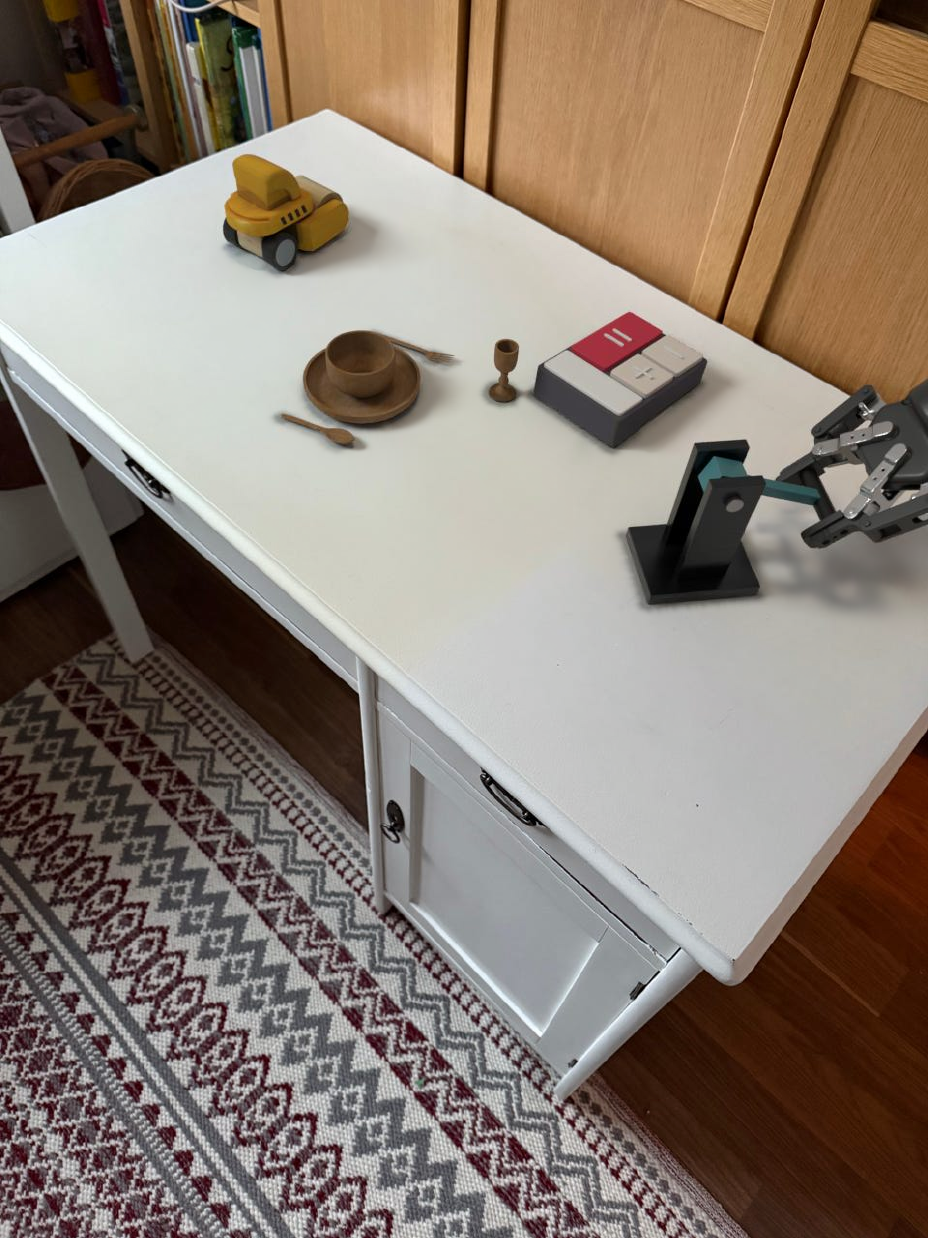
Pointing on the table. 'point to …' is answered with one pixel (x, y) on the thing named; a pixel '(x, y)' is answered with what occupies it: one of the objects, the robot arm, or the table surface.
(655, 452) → the table surface
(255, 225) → the toy roller
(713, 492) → the bracket
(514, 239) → the table surface
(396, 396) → the place setting
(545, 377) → the calculator
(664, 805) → the table surface
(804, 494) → the lever
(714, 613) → the table surface
